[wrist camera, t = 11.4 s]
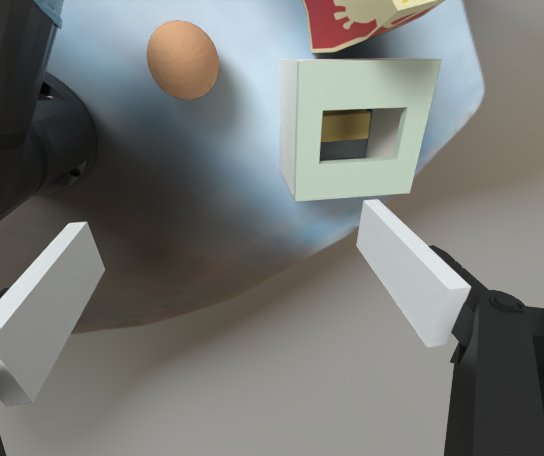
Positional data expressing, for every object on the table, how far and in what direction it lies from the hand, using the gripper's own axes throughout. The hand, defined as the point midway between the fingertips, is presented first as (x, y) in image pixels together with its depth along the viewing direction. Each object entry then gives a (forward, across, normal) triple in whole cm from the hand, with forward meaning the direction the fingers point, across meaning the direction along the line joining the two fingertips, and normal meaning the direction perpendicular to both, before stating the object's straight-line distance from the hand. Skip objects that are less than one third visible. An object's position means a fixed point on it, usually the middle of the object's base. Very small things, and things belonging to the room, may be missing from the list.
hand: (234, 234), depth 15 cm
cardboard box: (+29, +14, 0) cm, 32 cm away
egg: (+29, -4, +7) cm, 30 cm away
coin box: (+29, +14, 0) cm, 32 cm away
